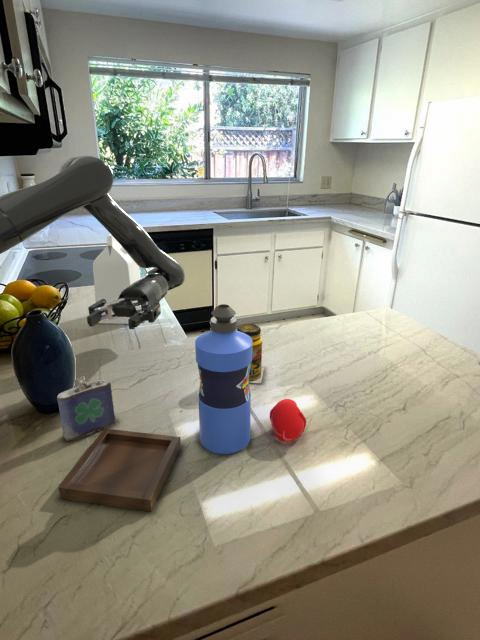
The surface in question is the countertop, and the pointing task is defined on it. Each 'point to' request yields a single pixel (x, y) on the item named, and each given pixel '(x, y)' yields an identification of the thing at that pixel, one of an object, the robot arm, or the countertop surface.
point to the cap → (287, 420)
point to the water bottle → (224, 384)
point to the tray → (122, 470)
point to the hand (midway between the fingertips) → (109, 323)
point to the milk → (113, 275)
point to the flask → (86, 408)
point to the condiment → (254, 351)
